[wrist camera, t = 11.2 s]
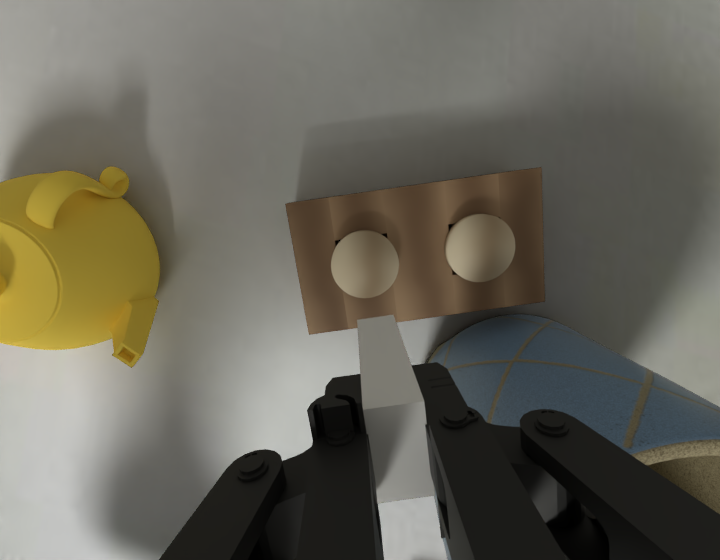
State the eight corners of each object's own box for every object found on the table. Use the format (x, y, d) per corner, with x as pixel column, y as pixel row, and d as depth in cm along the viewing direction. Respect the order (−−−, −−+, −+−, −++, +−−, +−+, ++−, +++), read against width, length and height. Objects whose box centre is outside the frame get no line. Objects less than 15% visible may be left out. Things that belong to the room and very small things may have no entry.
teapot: (-23, 274, 39) (-198, 313, 26) (61, 117, 36) (-93, 78, 23) (149, 377, 42) (65, 455, 30) (241, 242, 39) (189, 266, 26)
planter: (598, 284, 41) (915, 403, 18) (604, 462, 46) (854, 728, 23) (392, 321, 41) (445, 483, 18) (420, 493, 46) (489, 785, 24)
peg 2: (432, 269, 40) (450, 286, 33) (427, 214, 38) (444, 219, 31) (487, 261, 40) (516, 277, 33) (483, 206, 38) (513, 209, 31)
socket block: (314, 314, 41) (309, 334, 35) (295, 201, 38) (285, 203, 32) (516, 285, 41) (544, 301, 35) (511, 170, 38) (541, 167, 32)
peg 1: (338, 282, 40) (336, 302, 33) (330, 228, 38) (325, 236, 31) (393, 275, 40) (402, 293, 33) (386, 220, 38) (394, 226, 31)
